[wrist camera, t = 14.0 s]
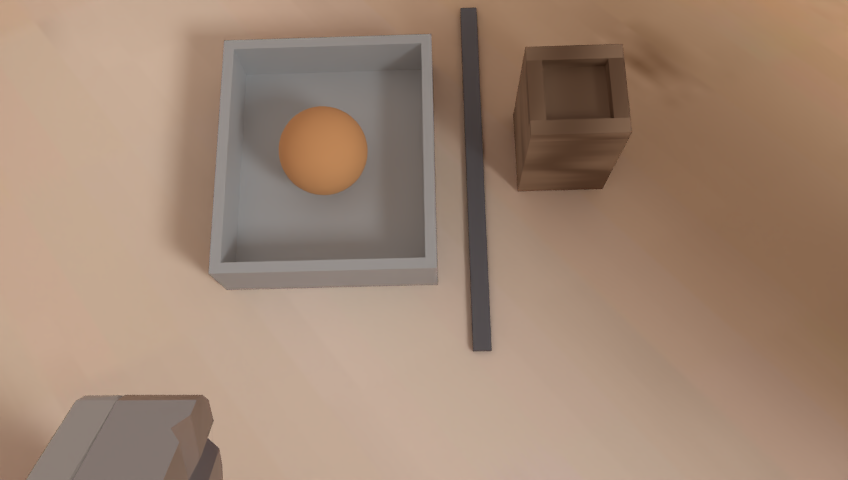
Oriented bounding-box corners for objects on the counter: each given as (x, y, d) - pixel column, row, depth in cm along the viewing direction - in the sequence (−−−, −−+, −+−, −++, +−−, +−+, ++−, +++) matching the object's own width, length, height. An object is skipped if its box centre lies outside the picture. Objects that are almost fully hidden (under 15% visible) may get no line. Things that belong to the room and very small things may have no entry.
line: (476, 10, 50) (476, 7, 50) (491, 351, 43) (491, 350, 43) (460, 10, 50) (460, 8, 50) (473, 351, 43) (473, 350, 43)
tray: (432, 65, 49) (431, 33, 45) (437, 284, 45) (437, 267, 41) (239, 71, 49) (224, 40, 46) (226, 289, 45) (208, 273, 42)
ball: (374, 127, 47) (358, 86, 42) (374, 205, 45) (358, 172, 41) (293, 132, 47) (269, 93, 43) (290, 209, 46) (264, 178, 41)
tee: (595, 112, 48) (622, 43, 40) (602, 188, 46) (631, 132, 39) (513, 114, 48) (525, 46, 40) (517, 191, 46) (531, 135, 39)
